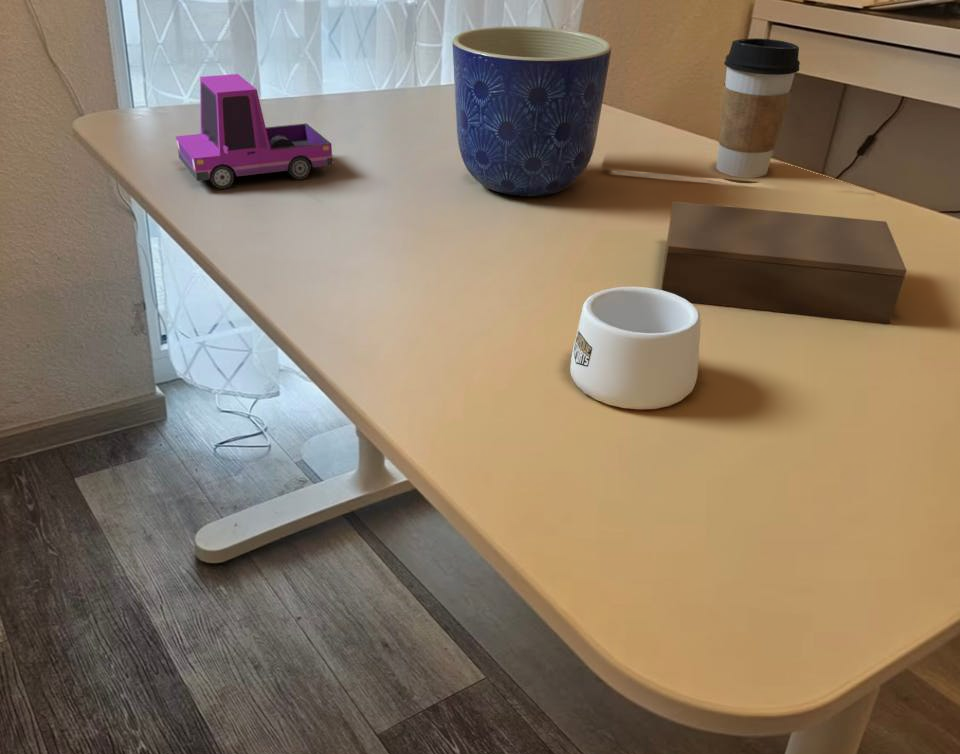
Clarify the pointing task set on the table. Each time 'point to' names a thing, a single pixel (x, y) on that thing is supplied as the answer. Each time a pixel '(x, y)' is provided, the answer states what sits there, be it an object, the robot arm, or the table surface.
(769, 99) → the coffee cup
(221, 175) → the toy truck
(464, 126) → the planter
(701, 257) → the dark wooden box
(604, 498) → the table surface
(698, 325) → the mug
